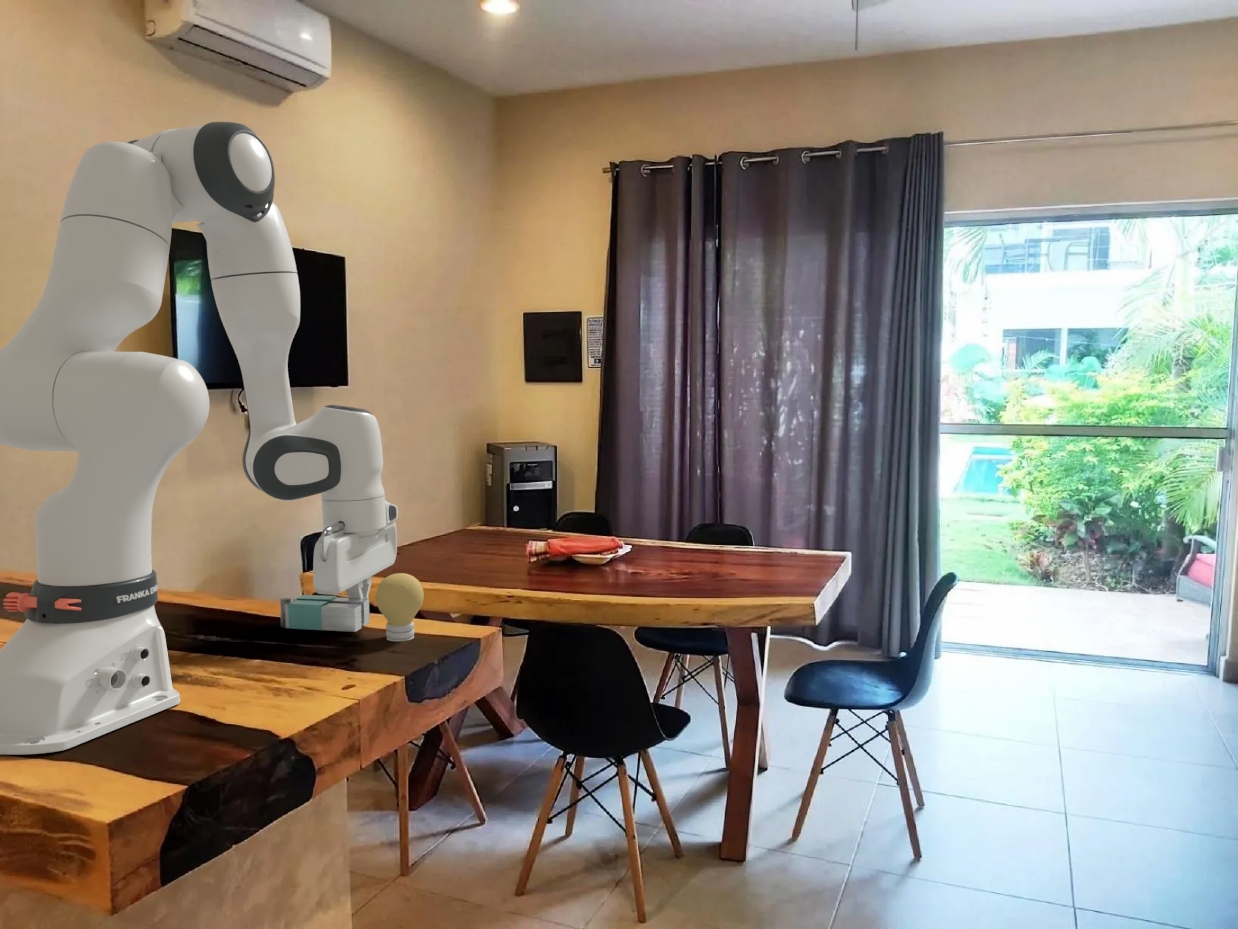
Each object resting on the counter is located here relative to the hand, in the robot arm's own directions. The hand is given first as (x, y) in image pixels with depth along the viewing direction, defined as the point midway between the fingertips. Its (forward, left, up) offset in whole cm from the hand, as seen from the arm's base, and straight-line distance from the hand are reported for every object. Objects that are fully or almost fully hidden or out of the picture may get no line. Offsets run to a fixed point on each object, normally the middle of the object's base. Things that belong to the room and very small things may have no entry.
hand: (359, 609), depth 132 cm
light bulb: (-8, -10, -3) cm, 13 cm away
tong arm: (-2, +3, -2) cm, 4 cm away
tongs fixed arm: (-5, +4, -2) cm, 7 cm away
